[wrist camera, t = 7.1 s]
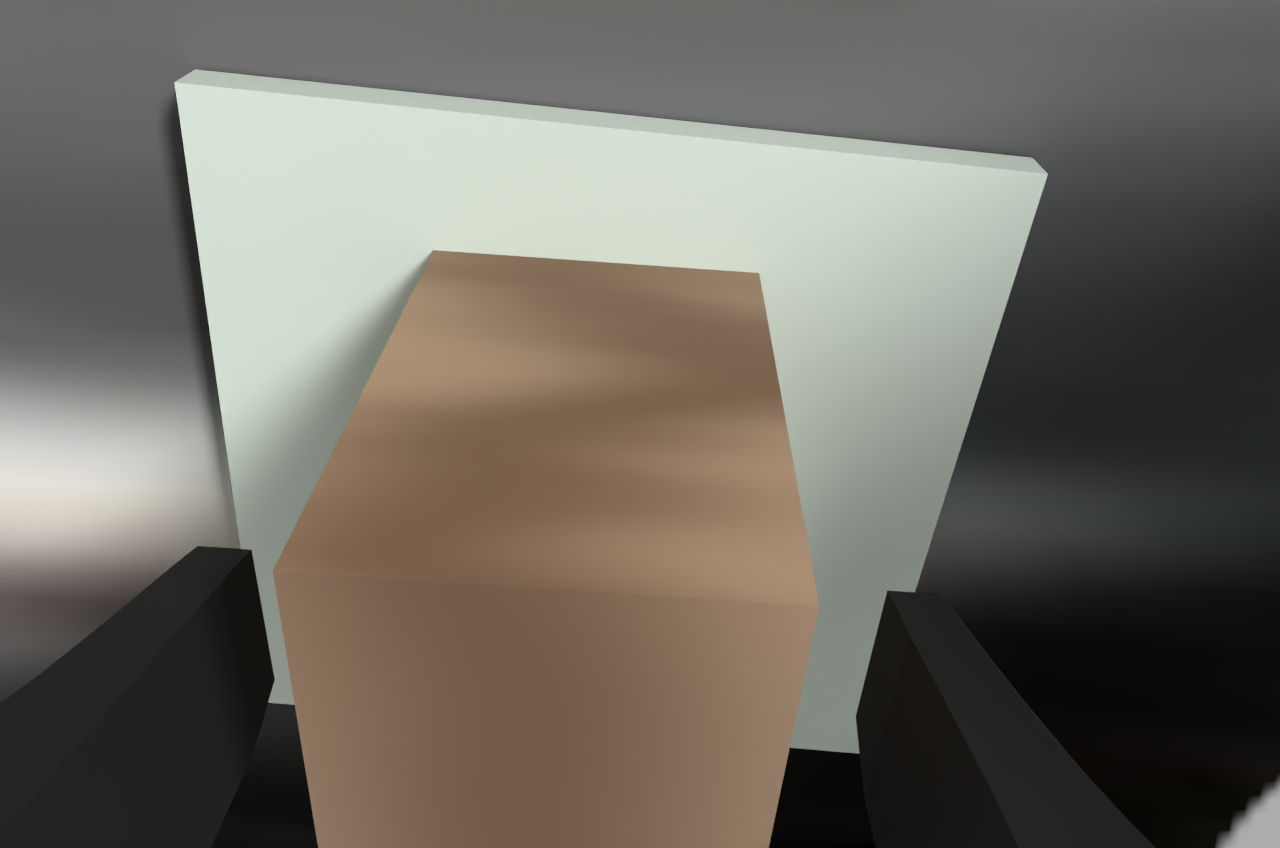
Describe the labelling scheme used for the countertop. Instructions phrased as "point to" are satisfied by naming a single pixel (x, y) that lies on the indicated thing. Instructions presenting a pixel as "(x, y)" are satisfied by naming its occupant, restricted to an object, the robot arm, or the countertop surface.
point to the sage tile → (616, 233)
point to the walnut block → (555, 568)
